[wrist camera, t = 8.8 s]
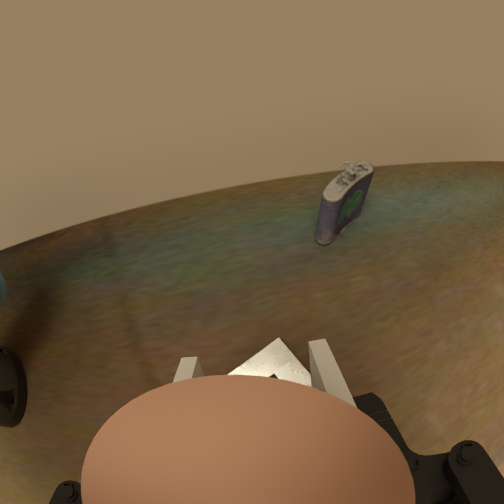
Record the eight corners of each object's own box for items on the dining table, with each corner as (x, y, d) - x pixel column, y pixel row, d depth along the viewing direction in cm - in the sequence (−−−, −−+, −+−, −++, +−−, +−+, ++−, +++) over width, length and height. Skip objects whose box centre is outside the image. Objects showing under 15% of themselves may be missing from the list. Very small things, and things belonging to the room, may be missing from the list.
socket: (194, 399, 30) (190, 399, 28) (278, 340, 33) (278, 337, 31) (257, 479, 24) (256, 482, 23) (345, 416, 27) (348, 417, 26)
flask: (324, 250, 39) (336, 193, 29) (308, 236, 40) (314, 178, 30) (364, 211, 41) (381, 155, 32) (348, 200, 43) (361, 144, 33)
